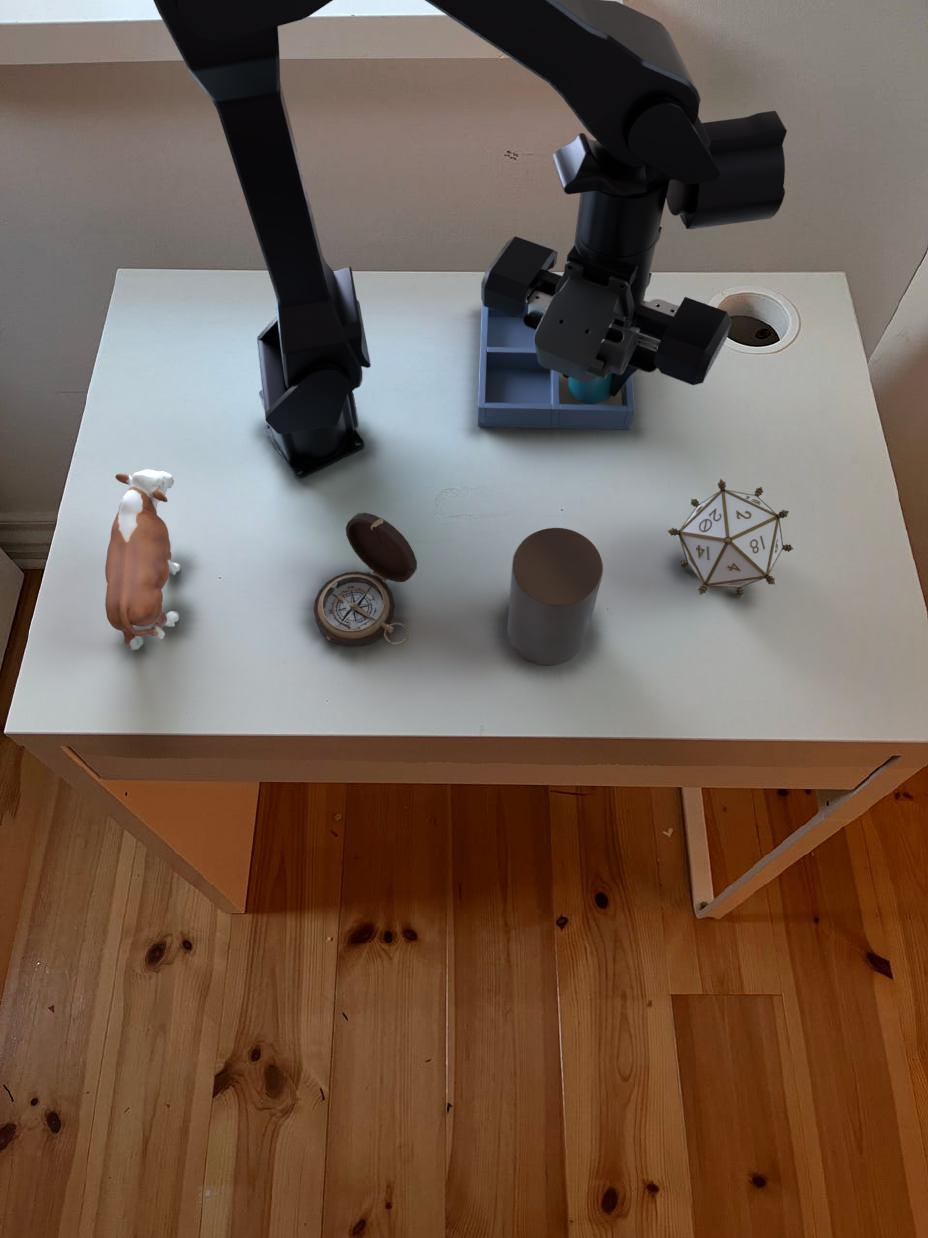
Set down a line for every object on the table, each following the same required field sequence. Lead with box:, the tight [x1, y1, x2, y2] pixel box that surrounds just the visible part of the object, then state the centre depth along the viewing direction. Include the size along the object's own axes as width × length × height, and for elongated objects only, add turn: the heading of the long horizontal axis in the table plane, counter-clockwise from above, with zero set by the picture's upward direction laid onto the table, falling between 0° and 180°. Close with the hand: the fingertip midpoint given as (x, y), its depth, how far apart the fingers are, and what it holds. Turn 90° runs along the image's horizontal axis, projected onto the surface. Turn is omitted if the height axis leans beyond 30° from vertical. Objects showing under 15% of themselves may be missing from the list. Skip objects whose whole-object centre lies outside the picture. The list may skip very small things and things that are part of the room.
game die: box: [667, 478, 795, 598], centre depth 67 cm, size 9×8×10 cm
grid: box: [477, 299, 635, 430], centre depth 78 cm, size 13×13×2 cm
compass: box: [313, 512, 418, 647], centre depth 65 cm, size 8×8×7 cm
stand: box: [507, 527, 604, 666], centre depth 64 cm, size 6×6×10 cm
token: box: [567, 373, 615, 404], centre depth 75 cm, size 4×4×4 cm
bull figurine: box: [104, 469, 182, 651], centre depth 66 cm, size 4×13×8 cm, turn 179°
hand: (590, 383), depth 76 cm, fingers closed on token, 4 cm apart
